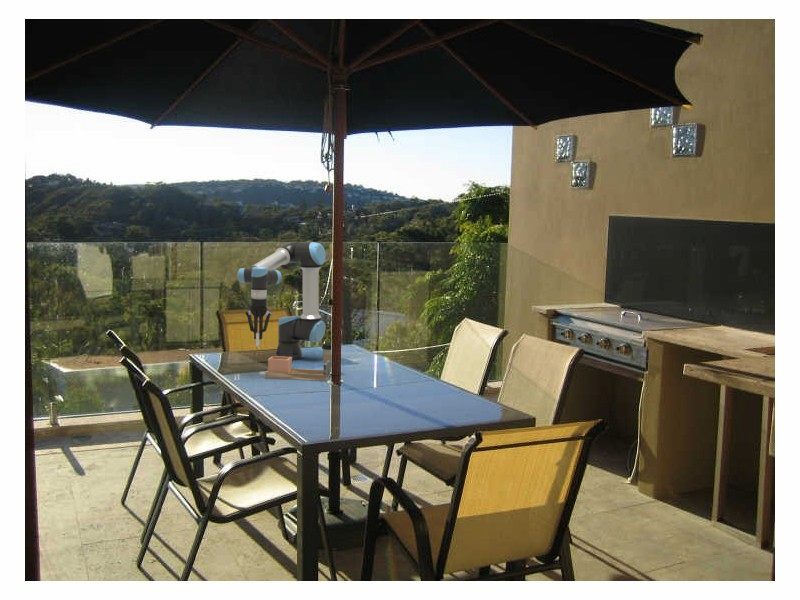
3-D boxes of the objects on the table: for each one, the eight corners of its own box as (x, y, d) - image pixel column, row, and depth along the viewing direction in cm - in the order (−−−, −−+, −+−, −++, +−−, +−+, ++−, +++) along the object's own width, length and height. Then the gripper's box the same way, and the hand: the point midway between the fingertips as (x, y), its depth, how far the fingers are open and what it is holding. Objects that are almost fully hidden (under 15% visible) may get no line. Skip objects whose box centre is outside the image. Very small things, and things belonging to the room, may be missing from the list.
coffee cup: (341, 372, 423) (341, 343, 421) (337, 375, 413) (338, 346, 412) (322, 371, 424) (323, 342, 422) (319, 374, 414) (319, 345, 413)
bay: (270, 373, 414) (271, 357, 413) (329, 376, 411) (330, 360, 411) (264, 378, 402) (265, 362, 401) (325, 381, 400) (326, 364, 399)
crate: (272, 371, 412) (272, 356, 411) (291, 372, 411) (292, 356, 410) (267, 374, 403) (268, 359, 403) (287, 375, 403) (288, 360, 402)
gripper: (243, 298, 401) (243, 346, 403) (270, 299, 400) (269, 347, 402) (247, 296, 408) (247, 344, 411) (273, 298, 407) (272, 345, 410)
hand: (258, 345), depth 407 cm, fingers closed
